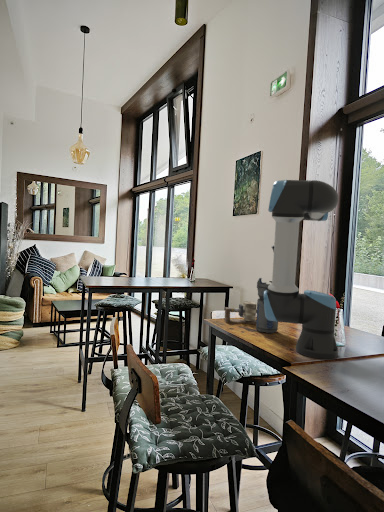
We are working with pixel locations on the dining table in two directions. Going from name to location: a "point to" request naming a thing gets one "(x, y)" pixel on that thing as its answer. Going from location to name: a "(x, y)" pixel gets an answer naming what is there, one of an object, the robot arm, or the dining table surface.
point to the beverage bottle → (263, 311)
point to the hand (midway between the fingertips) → (282, 278)
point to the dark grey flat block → (241, 310)
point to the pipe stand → (228, 320)
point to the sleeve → (249, 311)
